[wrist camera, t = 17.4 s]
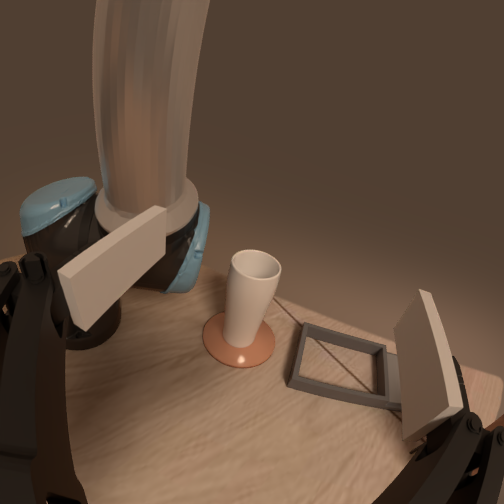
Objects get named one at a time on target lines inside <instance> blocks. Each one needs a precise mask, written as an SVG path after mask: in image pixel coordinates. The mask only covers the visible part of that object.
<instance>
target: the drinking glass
mask: <svg viewBox="0 0 504 504" xmlns="http://www.w3.org/2000/svg"><path fill="white" fill-rule="evenodd" d="M280 273H281V265H280V263H279V262H278V261H277V260H276V259H275V258H274V257H273V256H271V255H269V254H267V253H265V252H262V251H257V250H243V251H239V252H237V253H236V254H235V255H234V256H233V257H232V259H231V264H230V268H229V273H228V278H227V285H226V299H225V315H224V327H223V338H224V340H225V341H226V342H227V343H228V344H229V345H231V346H233V347H236V348H245V347H248V346H250V345H251V344H252V343H253V342H254V340H255V337H256V334H257V332H258V329H259V327H260V325H261V323H262V321H263V318H264V316H265V314H266V312H267V310H268V308H269V306H270V303H271V301H272V299H273V296H274V294H275V291H276V288H277V285H278V282H279V278H280Z"/></svg>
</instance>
